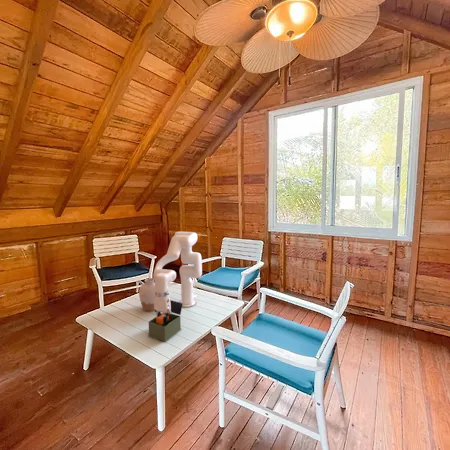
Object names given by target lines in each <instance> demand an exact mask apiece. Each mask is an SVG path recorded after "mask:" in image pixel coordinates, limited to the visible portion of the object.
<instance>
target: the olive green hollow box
mask: <svg viewBox="0 0 450 450" xmlns="http://www.w3.org/2000/svg"><path fill="white" fill-rule="evenodd" d="M162 314H164V313H163V312H161V315H162ZM156 318H157V316H155V317H153V318H152V319H150V320H149V321H148V337H151V338H153V339H156V340H158V341H161V342H165V343H166V342H167V341H168V340H169V339H171V338H172V337H173V336H175V335H176V334H177V333H179V332H180V331H181V329H182V328H181V326H182V325H181V315H178V314H175V313H171V314H169V320H168V321H167V322H166V323H163V324H162V325H161V324H158V323H156Z"/></svg>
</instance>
